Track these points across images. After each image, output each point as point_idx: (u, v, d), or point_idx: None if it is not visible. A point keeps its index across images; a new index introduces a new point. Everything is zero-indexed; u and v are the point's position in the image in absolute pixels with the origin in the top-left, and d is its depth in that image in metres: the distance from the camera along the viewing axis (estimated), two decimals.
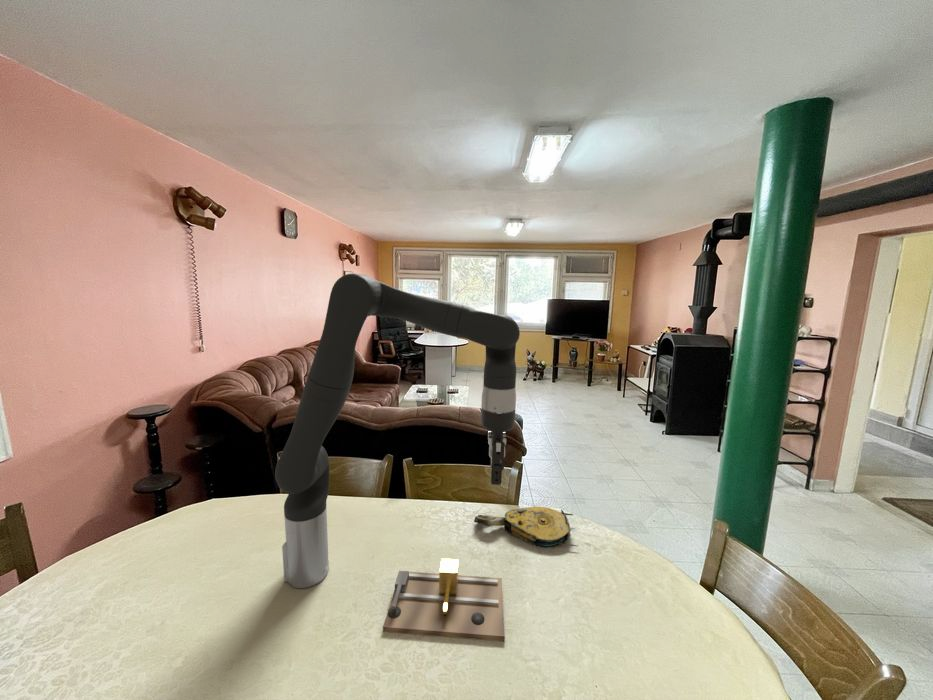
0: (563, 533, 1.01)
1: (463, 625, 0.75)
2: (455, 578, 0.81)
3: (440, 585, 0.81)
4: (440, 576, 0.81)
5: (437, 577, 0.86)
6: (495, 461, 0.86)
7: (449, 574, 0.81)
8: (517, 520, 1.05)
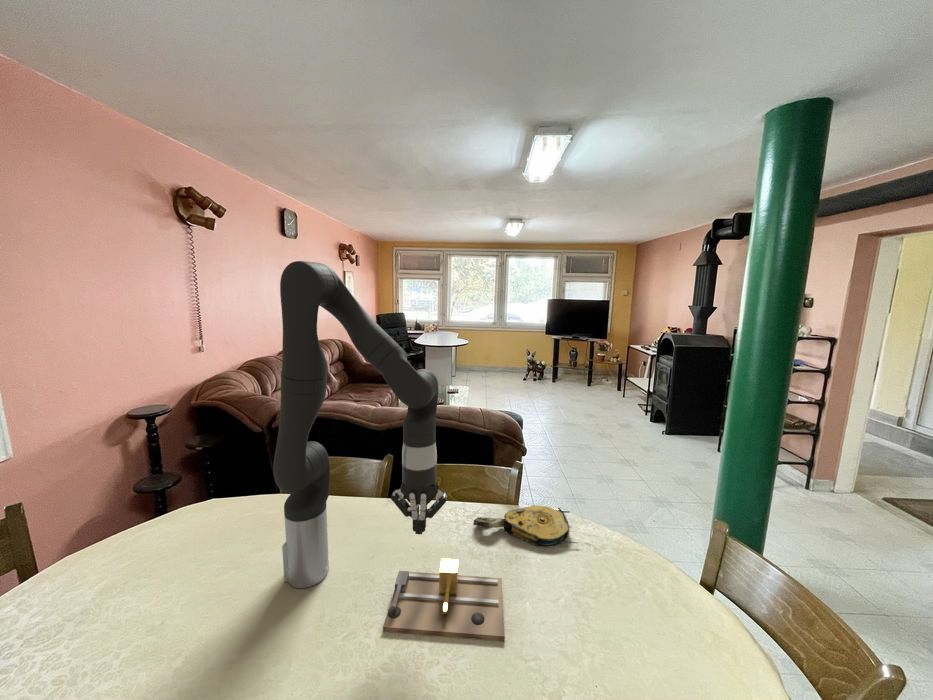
0: (563, 531, 1.02)
1: (463, 625, 0.75)
2: (455, 578, 0.81)
3: (440, 585, 0.81)
4: (440, 576, 0.81)
5: (437, 577, 0.86)
6: None
7: (449, 574, 0.81)
8: (517, 521, 1.05)
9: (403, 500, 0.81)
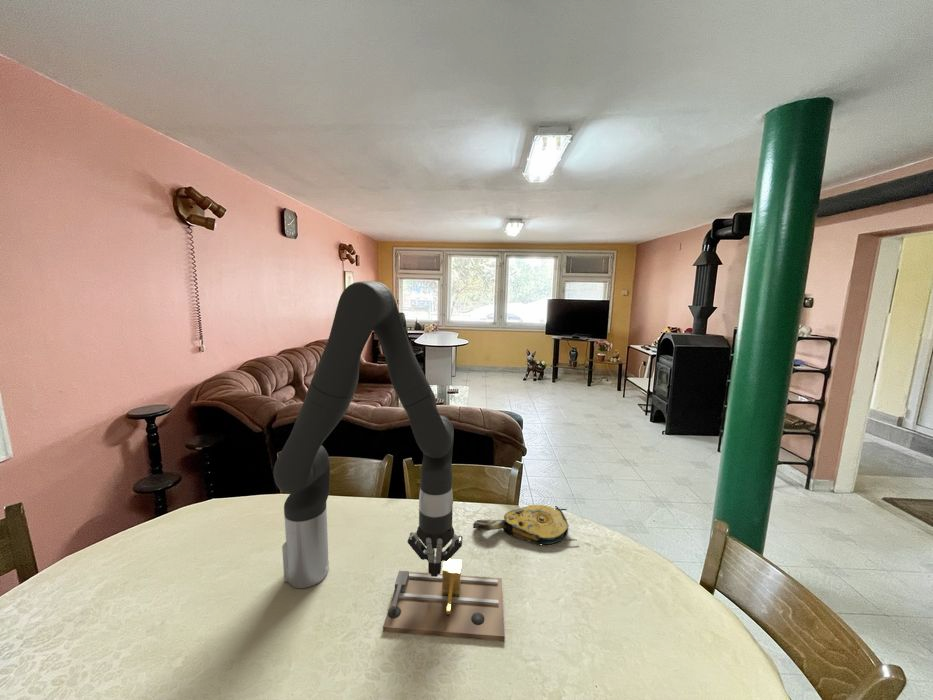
0: (563, 529, 1.03)
1: (463, 625, 0.75)
2: (458, 578, 0.81)
3: (443, 585, 0.81)
4: (443, 576, 0.81)
5: (437, 577, 0.86)
6: None
7: (452, 574, 0.81)
8: (517, 521, 1.05)
9: (419, 543, 0.83)
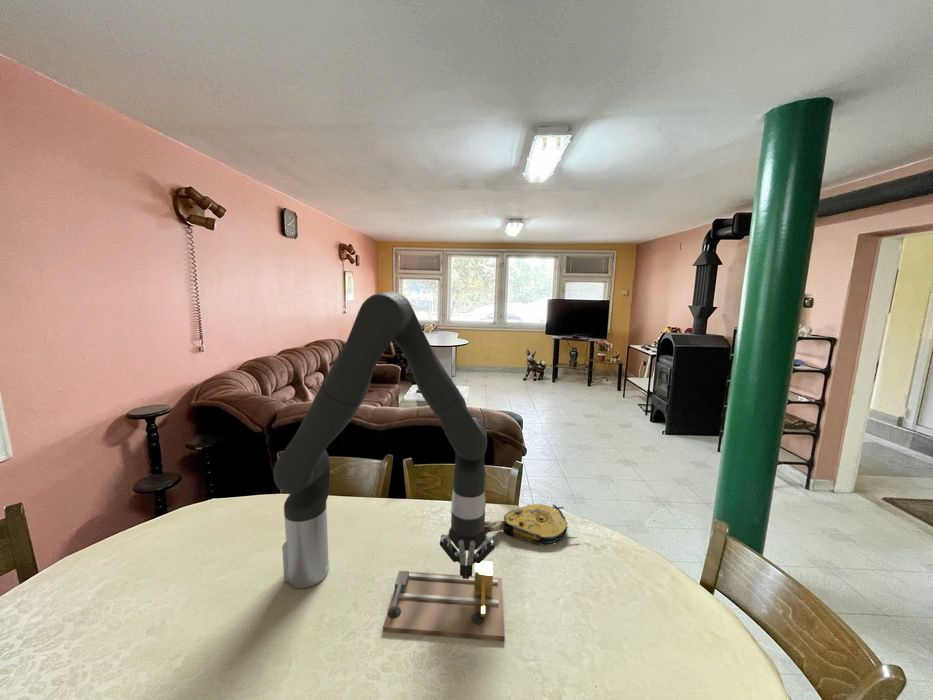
0: (563, 527, 1.04)
1: (463, 625, 0.75)
2: (491, 581, 0.80)
3: (475, 588, 0.81)
4: (475, 578, 0.81)
5: (437, 577, 0.86)
6: None
7: (485, 576, 0.80)
8: (517, 522, 1.04)
9: (450, 545, 0.82)
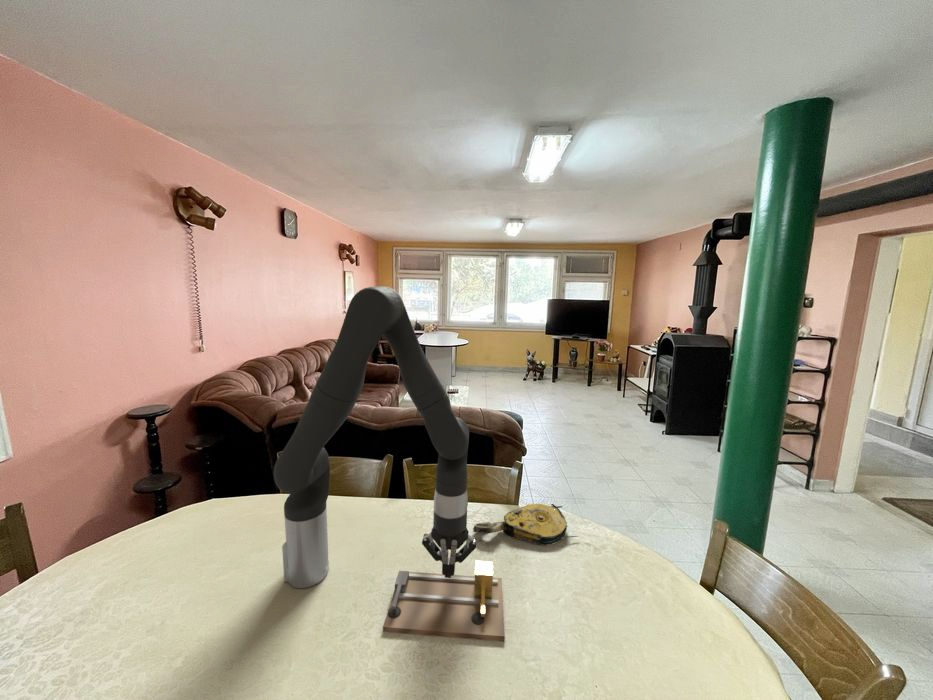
0: (563, 526, 1.04)
1: (463, 625, 0.75)
2: (491, 581, 0.80)
3: (475, 588, 0.81)
4: (475, 578, 0.81)
5: (437, 577, 0.86)
6: None
7: (485, 576, 0.80)
8: (518, 522, 1.04)
9: (433, 544, 0.82)
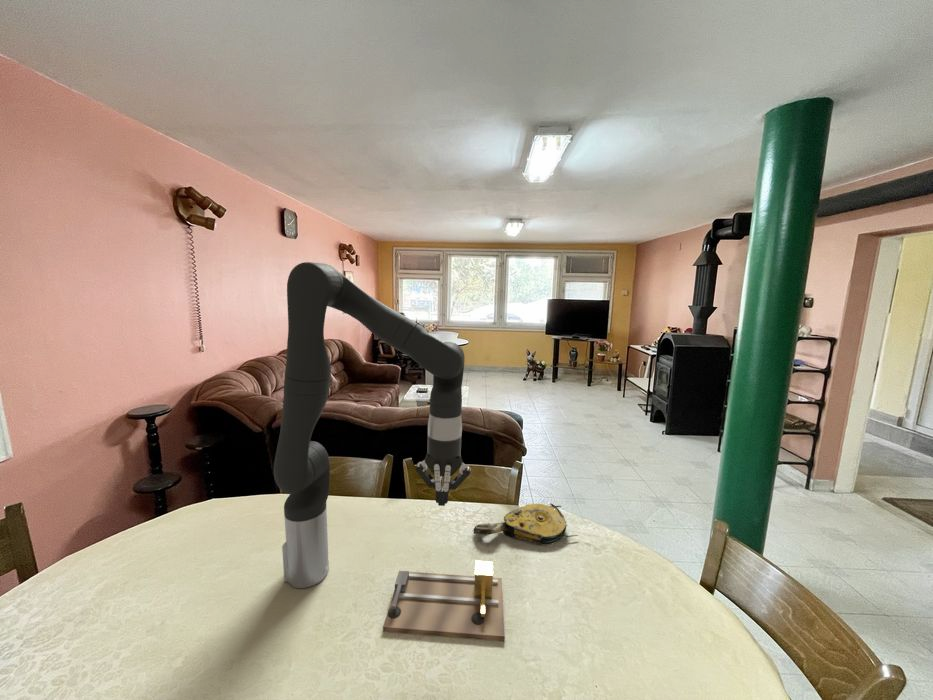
0: (563, 526, 1.04)
1: (463, 625, 0.75)
2: (491, 581, 0.80)
3: (475, 588, 0.81)
4: (475, 578, 0.81)
5: (437, 577, 0.86)
6: None
7: (485, 576, 0.80)
8: (518, 523, 1.04)
9: (427, 472, 0.82)
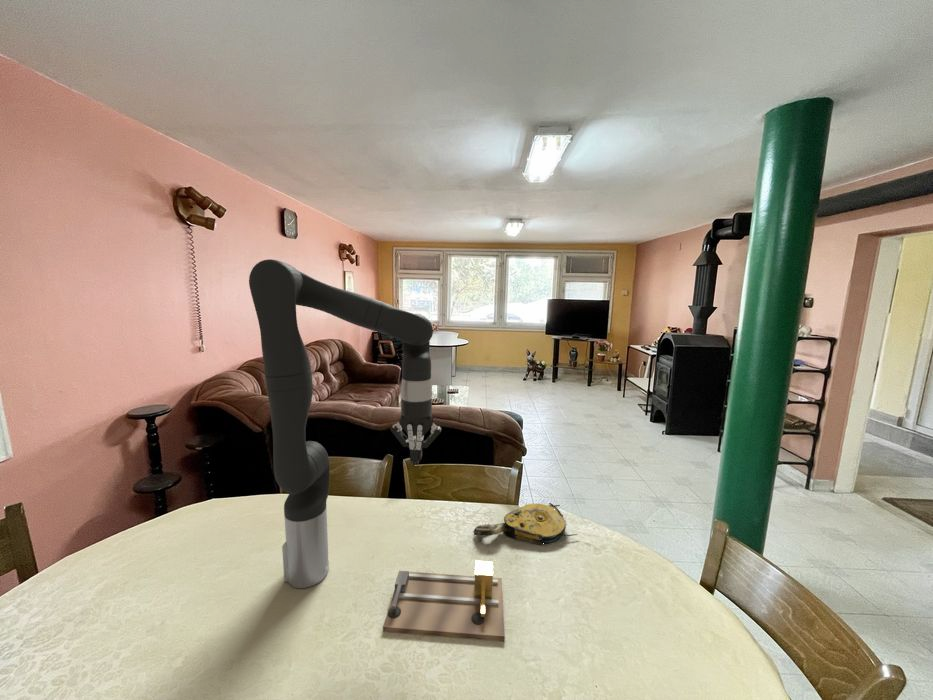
0: (563, 525, 1.05)
1: (463, 625, 0.75)
2: (491, 581, 0.80)
3: (475, 588, 0.81)
4: (475, 578, 0.81)
5: (437, 577, 0.86)
6: None
7: (485, 576, 0.80)
8: (518, 523, 1.04)
9: (401, 433, 0.90)
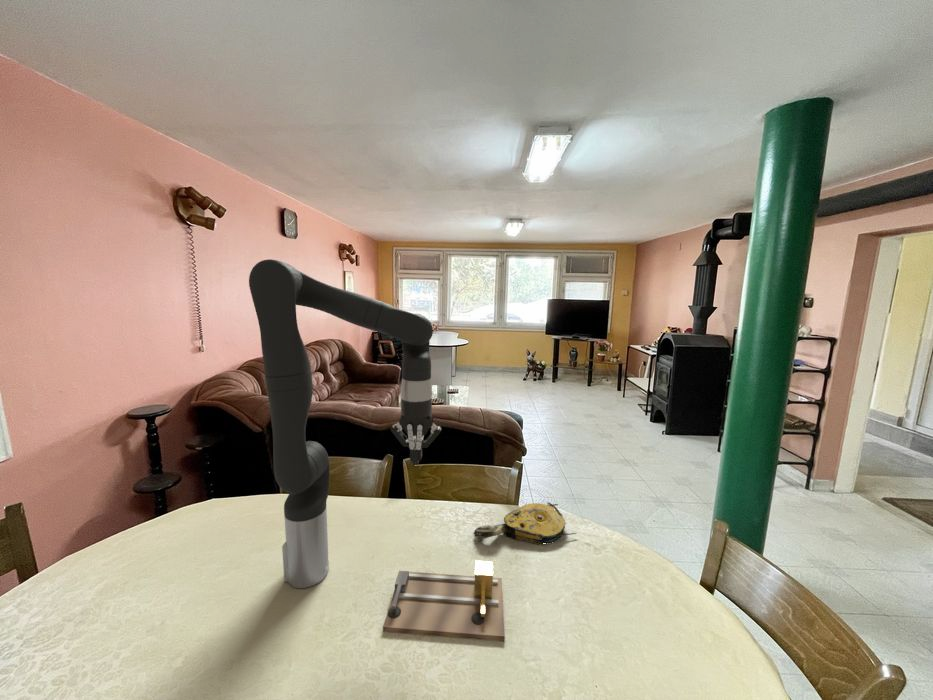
0: (562, 524, 1.05)
1: (463, 625, 0.75)
2: (491, 581, 0.80)
3: (475, 588, 0.81)
4: (475, 578, 0.81)
5: (437, 577, 0.86)
6: None
7: (485, 576, 0.80)
8: (518, 523, 1.04)
9: (401, 432, 0.90)
